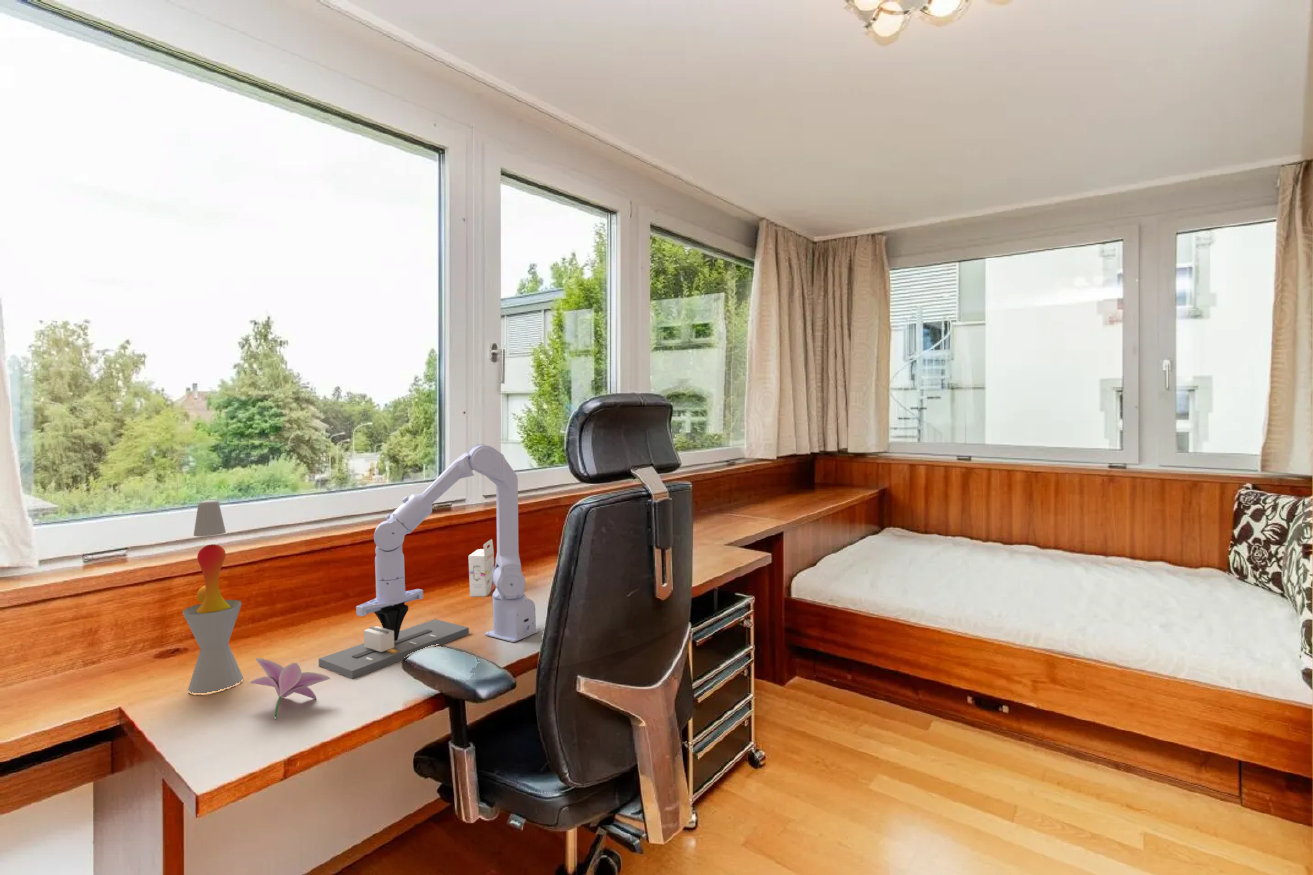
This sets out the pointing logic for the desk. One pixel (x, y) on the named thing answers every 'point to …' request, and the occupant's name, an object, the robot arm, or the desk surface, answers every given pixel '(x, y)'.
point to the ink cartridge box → (481, 570)
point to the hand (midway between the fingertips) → (392, 639)
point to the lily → (288, 679)
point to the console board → (408, 641)
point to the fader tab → (378, 638)
